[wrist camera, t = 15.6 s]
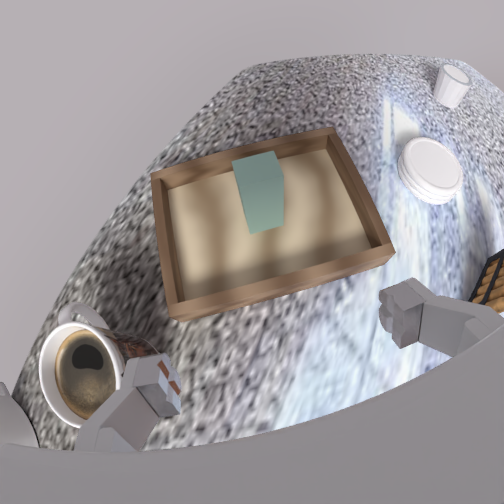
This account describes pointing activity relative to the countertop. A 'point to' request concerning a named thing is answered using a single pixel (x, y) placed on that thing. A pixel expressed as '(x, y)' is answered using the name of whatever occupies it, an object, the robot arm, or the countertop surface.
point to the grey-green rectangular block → (261, 190)
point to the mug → (85, 363)
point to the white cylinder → (451, 85)
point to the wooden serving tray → (269, 241)
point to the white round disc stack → (430, 170)
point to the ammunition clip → (491, 284)
